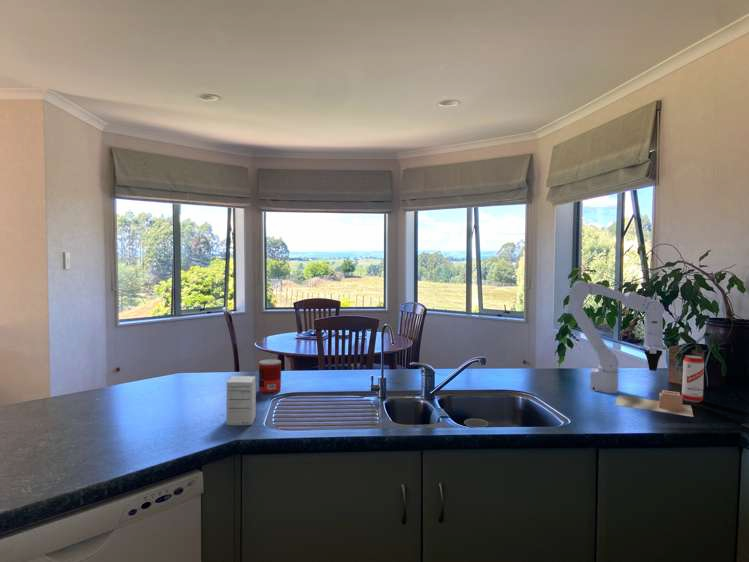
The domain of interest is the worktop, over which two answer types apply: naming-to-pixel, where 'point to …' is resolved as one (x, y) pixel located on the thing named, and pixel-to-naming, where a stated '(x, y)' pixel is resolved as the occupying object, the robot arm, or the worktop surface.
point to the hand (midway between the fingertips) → (652, 370)
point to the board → (650, 405)
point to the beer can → (693, 378)
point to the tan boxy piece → (670, 400)
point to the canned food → (269, 376)
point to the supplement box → (241, 400)
